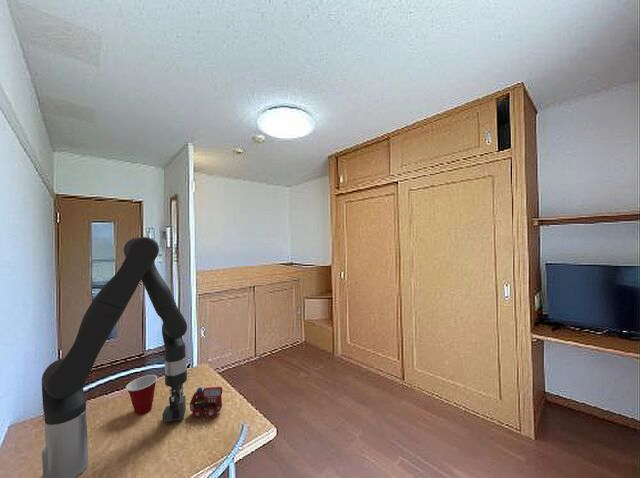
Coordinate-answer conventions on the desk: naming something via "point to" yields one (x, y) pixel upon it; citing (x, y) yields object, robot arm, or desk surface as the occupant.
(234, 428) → the desk surface
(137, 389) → the plastic cup
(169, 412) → the grey stepped block
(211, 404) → the toy fire truck
